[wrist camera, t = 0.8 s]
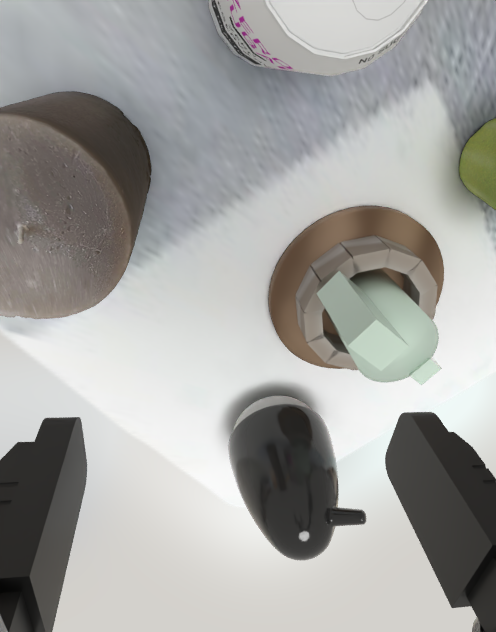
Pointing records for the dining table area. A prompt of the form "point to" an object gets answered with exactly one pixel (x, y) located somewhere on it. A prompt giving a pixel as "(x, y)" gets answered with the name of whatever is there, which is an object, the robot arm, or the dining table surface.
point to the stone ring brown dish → (348, 275)
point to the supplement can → (313, 31)
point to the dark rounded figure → (289, 476)
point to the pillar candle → (67, 202)
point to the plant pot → (481, 164)
